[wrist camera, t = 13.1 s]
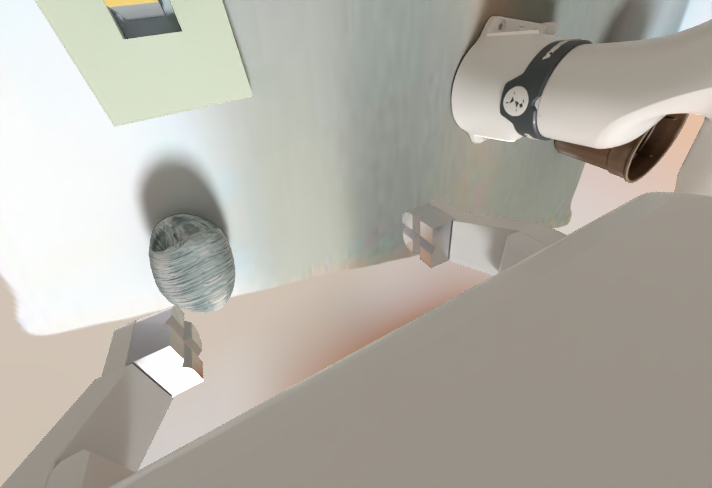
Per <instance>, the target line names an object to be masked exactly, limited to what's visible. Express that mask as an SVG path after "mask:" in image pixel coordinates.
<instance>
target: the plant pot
mask: <svg viewBox="0 0 712 488" xmlns="http://www.w3.org/2000/svg"><path fill="white" fill-rule="evenodd" d="M688 115H689V113H679V114H668V115H666V116H665V117H663V118H662V119H661V120H660V121H659V122H658V123H657V124H655V125H654V126H653V127H652V128H650V129H649V130H648V131H646V132H645V133H644V134H642V135H641V136H639V137H638V138H636V139H635V140H633V141H631V142H629V143H626V144H624V145H621V146H617V147H613V148H607V149H596V148H592V147H587V146H583V145H578V144H573V143H569V142H564V141H560V140H555V148H556V149H557V150H558V152H559V153H562V154H565V155H567V156H570V157H573V158H576V159H578V160H581V161H584V162H587V163H589V164H592V165H595V166H598V167H600V168H603V169H606V170H608V171H609V172H610V173H612V174H614V175H617V176H620V177H622V178H624V179H625V181H626V182H629V183H633V182H636V181H638V180H639V179H641V178H642V177H643V176H645V175H646V174H647V173H648V172H649V171H650V170H651V169H652V168H653V167H654V166H655V165H656V164H657V163H658V162H659V161H660V160H661V158H662V157H663V156H664V155H665V153H666V152H667V151H668V149H669V148H670V147H671V145H672V144H673V142H674V140H675V139H676V138H677V136H678V134H679V133H680V131H681V129H682V128H683V126H684V124H685V122H686V120H687V118H688Z"/></svg>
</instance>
